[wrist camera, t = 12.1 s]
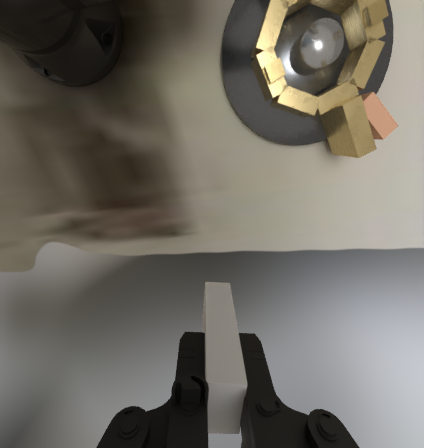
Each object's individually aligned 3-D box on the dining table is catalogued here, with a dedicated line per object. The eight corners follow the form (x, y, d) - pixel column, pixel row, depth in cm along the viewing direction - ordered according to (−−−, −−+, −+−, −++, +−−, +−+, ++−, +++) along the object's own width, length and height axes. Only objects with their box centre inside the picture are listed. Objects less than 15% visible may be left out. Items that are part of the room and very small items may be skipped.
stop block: (332, 111, 39) (358, 106, 33) (344, 99, 39) (373, 91, 32) (354, 138, 41) (383, 139, 34) (366, 127, 40) (398, 125, 34)
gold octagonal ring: (235, 26, 33) (243, -1, 27) (343, -41, 31) (381, -88, 25) (295, 173, 40) (313, 180, 33) (387, 126, 38) (425, 124, 31)
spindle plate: (193, 6, 34) (191, -25, 28) (364, -85, 32) (407, -143, 25) (254, 168, 42) (263, 174, 35) (396, 105, 39) (434, 99, 33)
